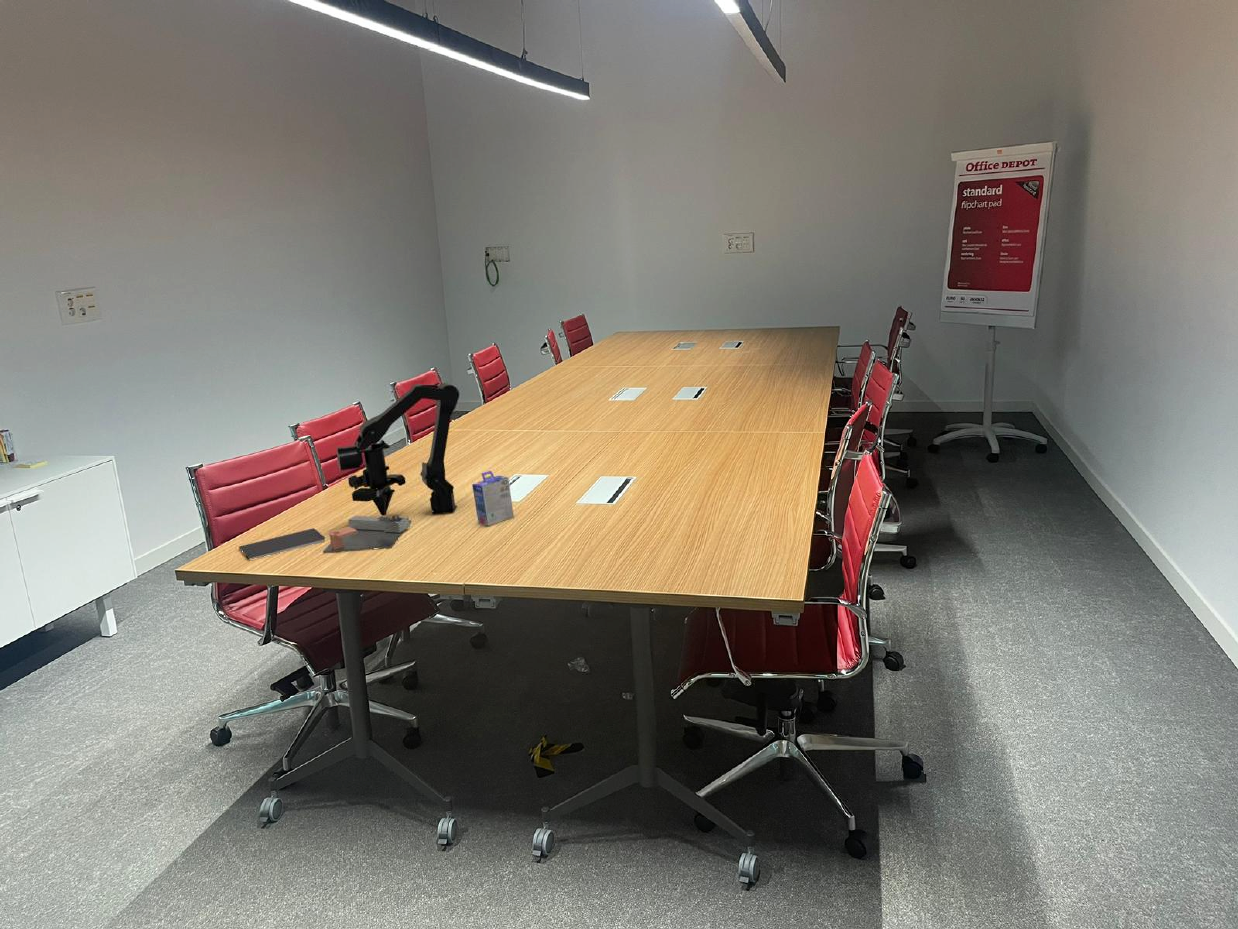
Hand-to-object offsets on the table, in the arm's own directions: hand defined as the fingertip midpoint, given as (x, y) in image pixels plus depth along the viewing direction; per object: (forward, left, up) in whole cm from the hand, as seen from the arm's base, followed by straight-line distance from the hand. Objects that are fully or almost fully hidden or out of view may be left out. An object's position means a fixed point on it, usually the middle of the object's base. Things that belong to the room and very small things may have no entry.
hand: (383, 515), depth 269 cm
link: (0, +7, -2) cm, 7 cm away
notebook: (+26, +14, -3) cm, 29 cm away
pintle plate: (+1, +12, -2) cm, 12 cm away
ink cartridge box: (-34, +5, -3) cm, 35 cm away
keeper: (+6, +20, -2) cm, 21 cm away
